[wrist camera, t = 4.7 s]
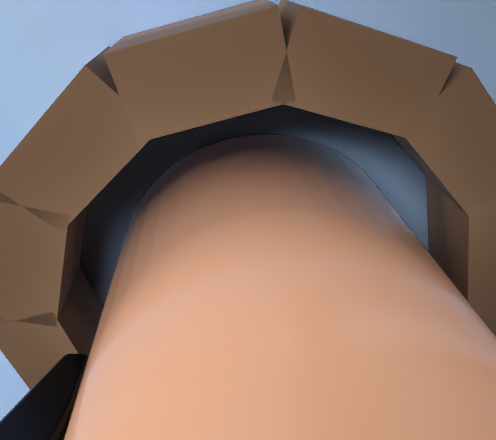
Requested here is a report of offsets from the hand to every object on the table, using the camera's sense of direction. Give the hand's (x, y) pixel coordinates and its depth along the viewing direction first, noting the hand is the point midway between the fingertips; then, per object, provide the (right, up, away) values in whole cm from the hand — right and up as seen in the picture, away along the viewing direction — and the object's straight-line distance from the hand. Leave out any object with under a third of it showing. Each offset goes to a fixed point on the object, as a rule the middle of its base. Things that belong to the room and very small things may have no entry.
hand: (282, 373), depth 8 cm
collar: (0, +2, +3) cm, 4 cm away
